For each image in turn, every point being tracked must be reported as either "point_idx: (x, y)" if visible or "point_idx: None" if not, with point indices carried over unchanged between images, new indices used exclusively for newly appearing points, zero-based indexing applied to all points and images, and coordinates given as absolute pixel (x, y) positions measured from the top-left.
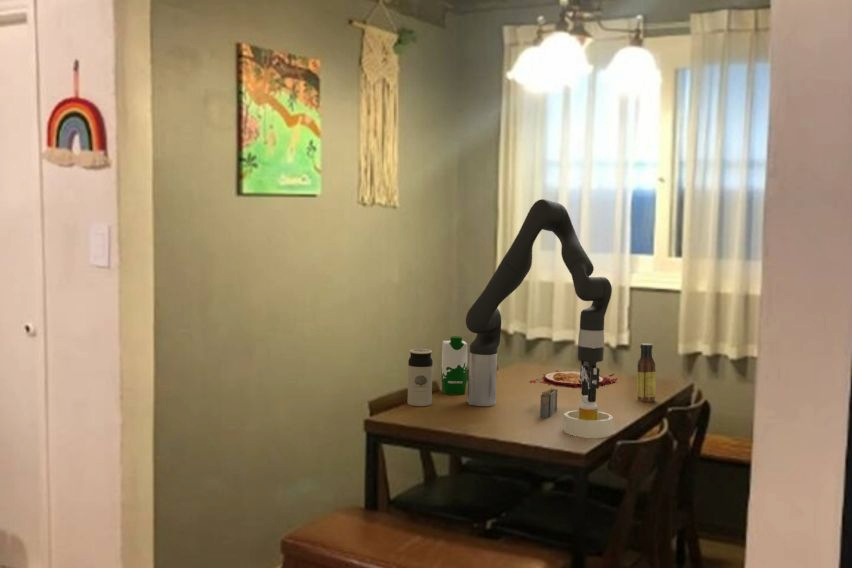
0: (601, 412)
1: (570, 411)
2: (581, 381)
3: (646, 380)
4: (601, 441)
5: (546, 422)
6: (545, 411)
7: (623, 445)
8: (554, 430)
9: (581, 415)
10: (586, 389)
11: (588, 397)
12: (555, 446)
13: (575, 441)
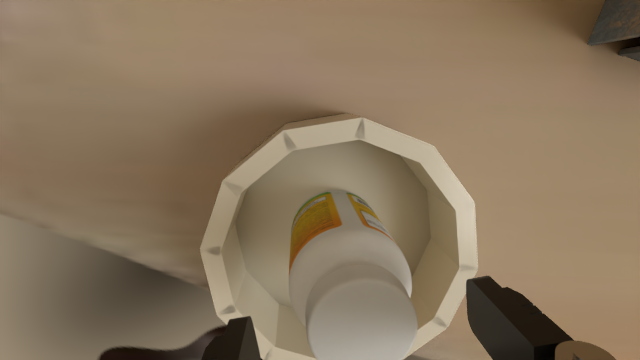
0: (430, 327)
1: (431, 162)
2: (581, 348)
3: None
4: (179, 273)
5: (500, 32)
6: (626, 21)
7: (139, 351)
8: (337, 68)
9: (308, 223)
10: (496, 340)
11: (223, 339)
12: (8, 60)
13: (143, 163)
